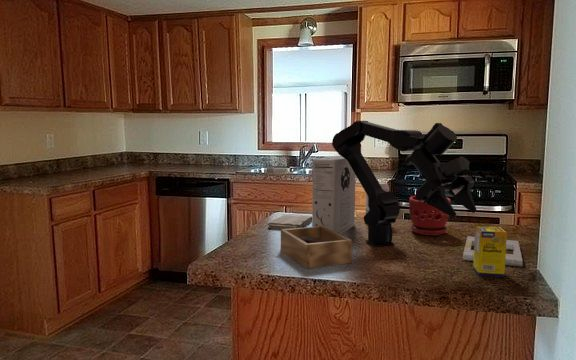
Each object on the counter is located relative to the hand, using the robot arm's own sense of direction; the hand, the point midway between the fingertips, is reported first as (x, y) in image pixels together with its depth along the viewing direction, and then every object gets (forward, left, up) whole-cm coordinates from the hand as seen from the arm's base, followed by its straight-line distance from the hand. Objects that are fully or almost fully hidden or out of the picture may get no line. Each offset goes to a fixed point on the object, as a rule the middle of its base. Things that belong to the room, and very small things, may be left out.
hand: (465, 214), depth 112 cm
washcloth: (-23, +61, -14) cm, 67 cm away
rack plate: (+16, +7, -13) cm, 22 cm away
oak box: (-32, +22, -13) cm, 41 cm away
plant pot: (+15, +33, -14) cm, 39 cm away
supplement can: (+7, +52, -14) cm, 54 cm away
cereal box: (-13, +47, -14) cm, 50 cm away
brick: (-31, +22, -14) cm, 40 cm away
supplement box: (+2, -7, -14) cm, 15 cm away
